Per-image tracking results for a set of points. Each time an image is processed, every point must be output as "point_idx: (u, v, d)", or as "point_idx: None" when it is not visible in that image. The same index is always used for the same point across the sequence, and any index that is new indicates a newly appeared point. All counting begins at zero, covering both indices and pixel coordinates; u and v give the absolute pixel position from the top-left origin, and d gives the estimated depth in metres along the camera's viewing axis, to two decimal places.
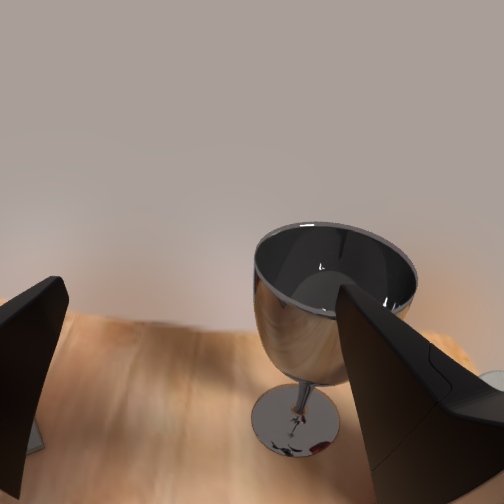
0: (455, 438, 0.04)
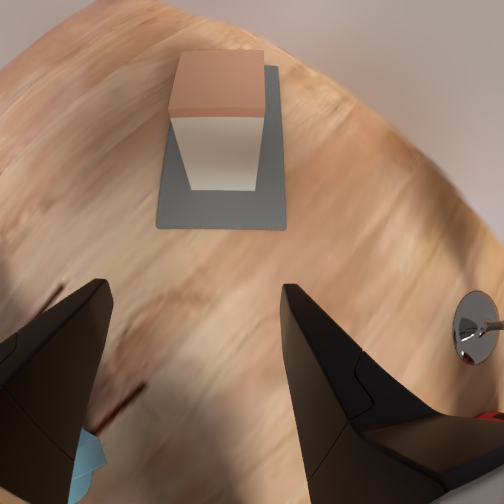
0: (364, 463, 0.04)
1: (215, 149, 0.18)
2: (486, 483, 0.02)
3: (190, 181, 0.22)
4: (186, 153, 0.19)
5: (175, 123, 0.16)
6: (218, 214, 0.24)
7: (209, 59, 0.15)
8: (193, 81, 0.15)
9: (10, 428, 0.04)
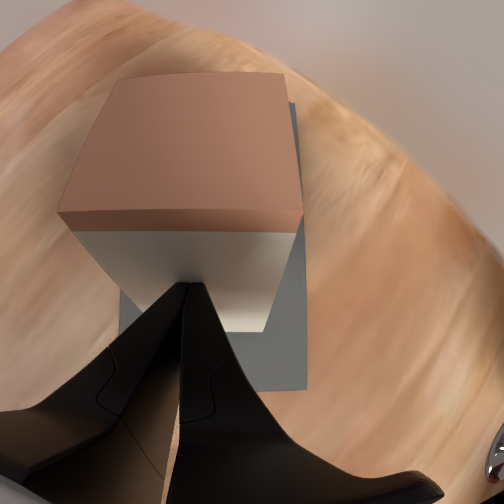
0: None
1: None
2: None
3: None
4: (132, 290, 0.09)
5: (87, 242, 0.07)
6: None
7: (169, 90, 0.07)
8: (125, 138, 0.06)
9: (122, 462, 0.04)
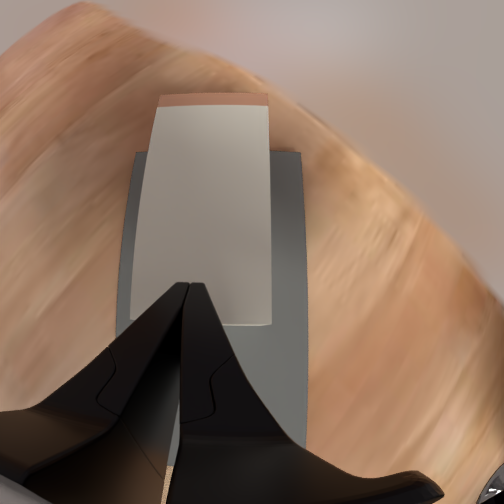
0: None
1: (200, 166, 0.12)
2: None
3: (135, 276, 0.11)
4: (152, 177, 0.12)
5: (159, 115, 0.12)
6: None
7: None
8: None
9: (122, 462, 0.04)
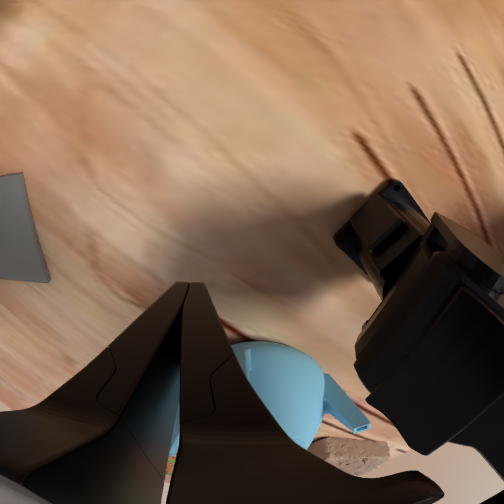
0: None
1: None
2: None
3: None
4: None
5: None
6: (24, 234, 0.20)
7: None
8: None
9: (122, 462, 0.04)
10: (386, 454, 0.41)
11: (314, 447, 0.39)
